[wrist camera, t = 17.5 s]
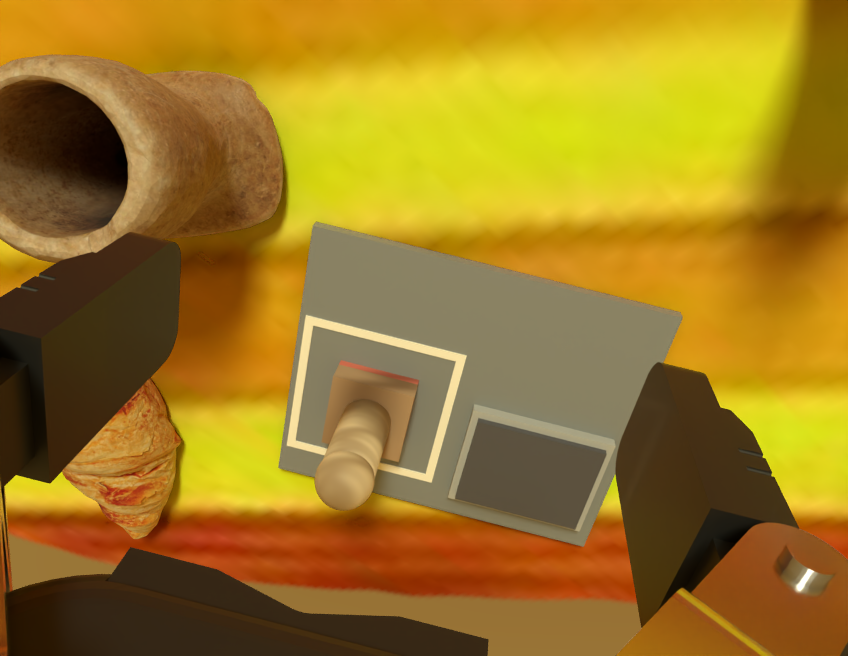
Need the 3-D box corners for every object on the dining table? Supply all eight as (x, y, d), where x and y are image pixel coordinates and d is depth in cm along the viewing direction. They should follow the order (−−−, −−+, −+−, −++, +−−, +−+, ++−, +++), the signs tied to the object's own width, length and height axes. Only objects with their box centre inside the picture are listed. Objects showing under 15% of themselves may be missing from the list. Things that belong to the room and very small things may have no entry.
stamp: (419, 380, 49) (393, 474, 39) (403, 443, 51) (375, 546, 42) (341, 360, 49) (296, 449, 40) (329, 424, 51) (285, 522, 42)
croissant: (202, 493, 62) (211, 555, 55) (81, 528, 59) (74, 597, 53) (138, 272, 52) (139, 314, 46) (-11, 302, 50) (-34, 351, 43)
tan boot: (265, 24, 40) (135, 48, 27) (301, 222, 46) (207, 324, 32) (29, 49, 43) (-196, 82, 30) (89, 235, 48) (-80, 334, 35)
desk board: (680, 312, 45) (686, 327, 43) (582, 539, 54) (584, 559, 52) (316, 221, 45) (307, 232, 43) (281, 461, 55) (272, 478, 53)
